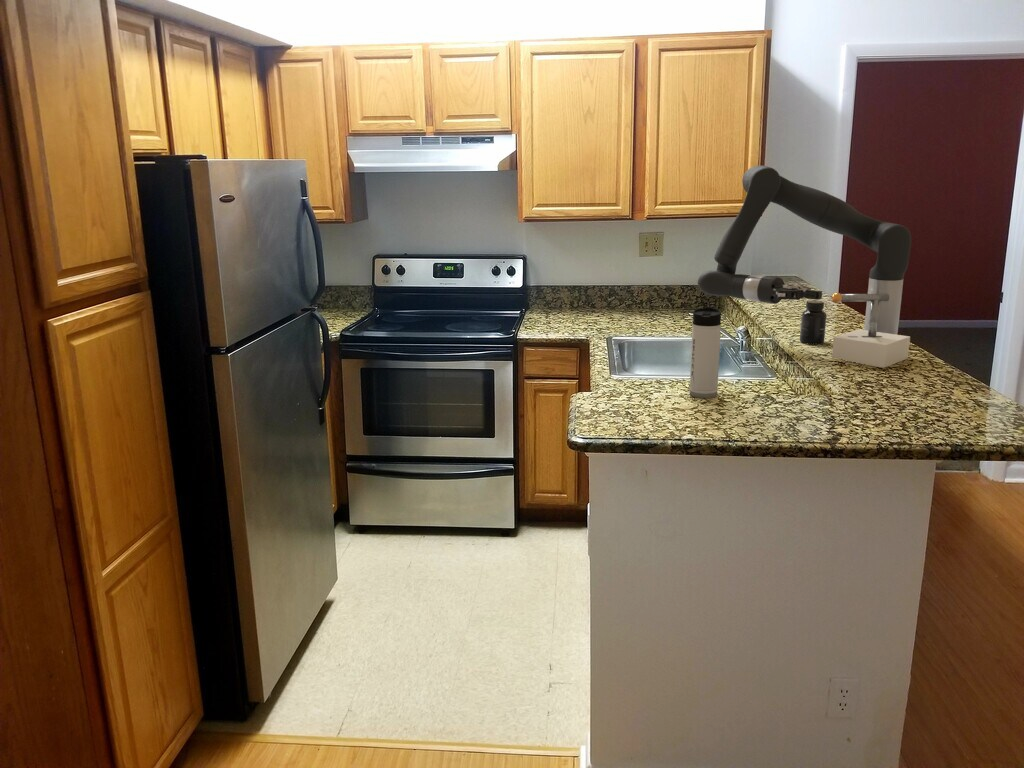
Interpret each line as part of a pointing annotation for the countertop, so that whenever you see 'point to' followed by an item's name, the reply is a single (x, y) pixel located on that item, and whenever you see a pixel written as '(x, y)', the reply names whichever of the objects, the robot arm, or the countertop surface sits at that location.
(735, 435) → the countertop surface
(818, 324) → the supplement bottle
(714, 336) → the travel mug
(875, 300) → the T-key
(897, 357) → the block
